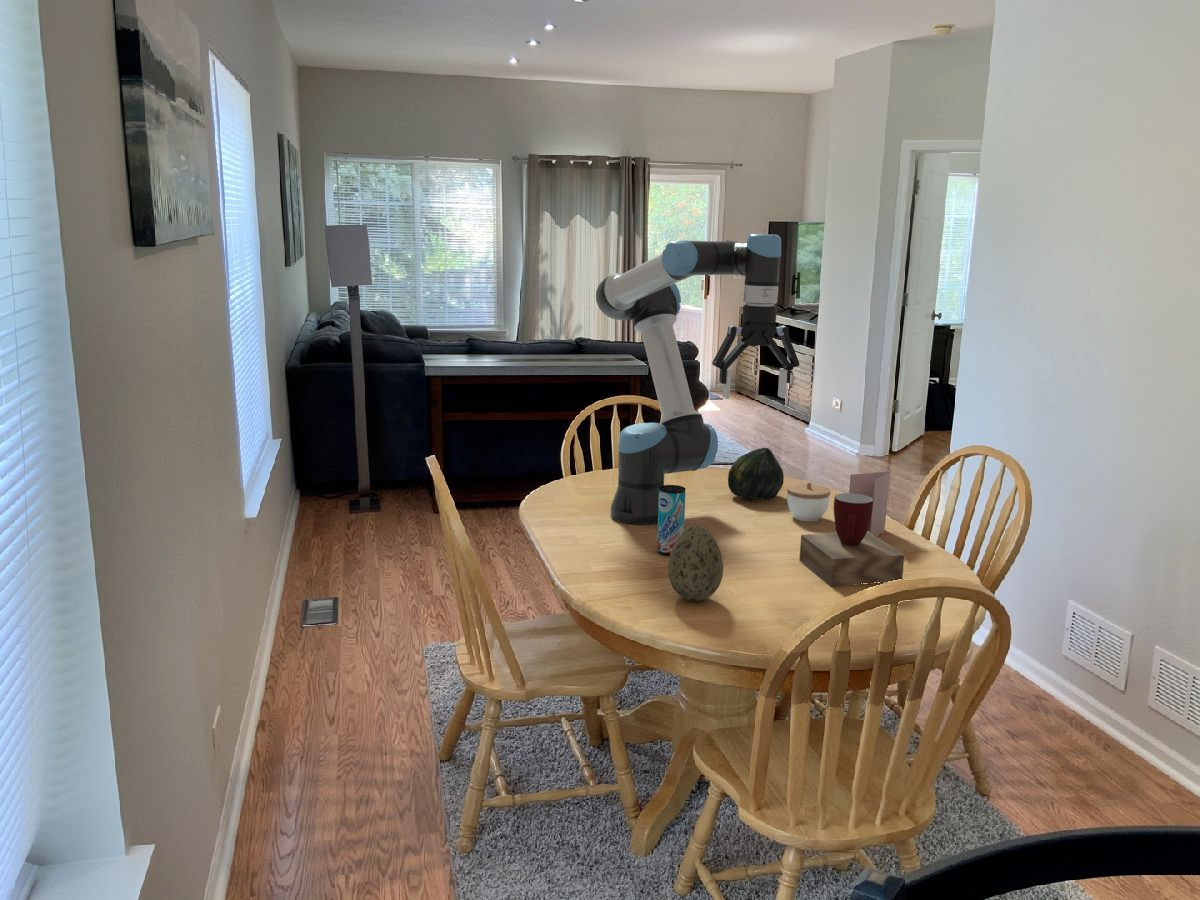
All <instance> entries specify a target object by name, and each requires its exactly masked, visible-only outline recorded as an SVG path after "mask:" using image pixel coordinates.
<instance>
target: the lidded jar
mask: <svg viewBox="0 0 1200 900" xmlns="http://www.w3.org/2000/svg"><path fill="white" fill-rule="evenodd" d="M786 491H787V494H786V495H787V496H786V500H787V507H788V510H789V512H790V513H791V515H793V517H794V518H795V519H796V521H797V520H798V521H802V522H807V523H808V522H811V523H813V522H817V521H819V520H820V518H822V517H823V515H825V513H826V512H827V510H828V507H829V502H830V496H831V489H829V488H828V487H826V486H822V485H819V484H814V483H813V484H812V482H808V481H807V483H796V484H795V483H793V484H791V485H789V486H787V489H786Z"/></svg>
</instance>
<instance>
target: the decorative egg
mask: <svg viewBox="0 0 1200 900" xmlns="http://www.w3.org/2000/svg"><path fill="white" fill-rule="evenodd" d="M668 556H669V558H668V563H667V575H668V580H669V582H670V585H671V588H672V589H673V590H674V591H675V592H676V594H677V595H679V596H680V597H681V598H683V599H684V600H686V601H687V600H688V601H691V602H700V601H704V600H706V599H708V598H710V597H711V596H713V595H714V594H715V592H717V590H718V588H719V587H720V585H721V583H722V580H723V575H724V560H723V556H722V552H721V550H720V547H719V544H718V543H717V541H716V539H715V538H714V536H713V534H712V533H711V532H710V531H709V530H707V529H706V528H705V527H703V526H700V525H693V526H689V528H687V529H686V530H684V532H683V533H682V534H681V535H680V536H679V538H678V539H677V541H676V542H675V544H674V546H673V548H672V550H671V553H670V555H668Z"/></svg>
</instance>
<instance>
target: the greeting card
mask: <svg viewBox="0 0 1200 900" xmlns="http://www.w3.org/2000/svg"><path fill="white" fill-rule="evenodd" d="M890 474H891V471H878V472H868V473H855V474H850V477H849V491H848V493H855V494H862V495H866V496H869V497H871V498H872V499H873V510H872V515H871V519H870V523H869V526H868V530H867V531H870V533H871V534H873V535H874V536H877V535H878V536H879V535H881V532H882V531H883V530H884V529H885V530H886V519H887V517H886V516H887V508H888V507H887V506H888V496H889V484H890ZM885 530H884V531H885ZM884 531H883V532H884ZM883 532H882V533H883ZM878 536H877V537H878Z"/></svg>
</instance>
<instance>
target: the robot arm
mask: <svg viewBox="0 0 1200 900" xmlns="http://www.w3.org/2000/svg"><path fill="white" fill-rule="evenodd" d="M781 259H782V238H781V236H780V235H779V234H772V233H771V234H767V233H766V234H765V233H750V234H749V235H748V236H747V241H735V240H724V241H719V240H718V241H717V240H716V241H715V240H714V241H710V240H709V241H704V240H686V239H681V240H675V241H673V240H672V241H670V242H668V243H666V245H665V247H664V248H663V250H662V253H661V254H659V255H657V256H654V257H653V258H651V259H649V260H647V261H645V262H643V263H641V264H639V265H637V266H635V267H633V268H631V269H629V270H627V271H626V272H615V273H612V274H610V275H609V276H606V277H605V278H603V280H601V282H600V283H599V284H598V286H597V289H596V291H595V301H596V304H597V307H598V308H599V310H600V311H601V312H602V313H603V314H604V315H605V316H606V317H609V318H610V319H613V320H615V321H616V320H618V321H632V324H633V328H634V331H635V332H637V333H639V334H640V335H641V336H642V341H643V345H644V349H645V352H646V353H645V354H646V357H647V361H648V366H649V368H650V373H651V377H652V382H653V385H654V389H655V392H656V397H657V401H658V406H659V408H660V409H659V410H660V413H661V417H662V418H661V421H660V422H659V423H658V422H640V423H635V424H631V425H629V426H625V428H623V429H622V430H621V432H620V434H619V440H618V446H617V449H618V475H617V477H618V479H617V480H618V482H617V488H616V491H615V493H614V495H613V496H614V497H613V499H612V501H611V502H612V503H611V506H610V517H611V516H612V517H613V518H614V520H615V519H616V520H615V521H618V520H619V521H618V522H620V523H625V522H626V524H630V525H631V524H632V523H634V524H633V525H652V524H653V525H654V524H658V504H659V487H661V486H664V485H665V475H666V474H674V473H675V474H676V473H681V472H689V471H690V472H695V471H698V470H702V469H706V468H708V467H709V466H711V465H712V464H713V462H714V461H715V459H716V455H717V453H718V449H719V442H718V441H719V439H718V434H717V432H716V430H715V428H714V427H713V426H712V425H711V424H709V423H705V422H704V418H703V414H702V413H700V412H698V411H696V410H695V407H694V403H693V400H692V395H691V392H690V387H689V384H688V379H687V375H686V372H685V368H684V364H683V360H682V356H681V353H680V348H679V344H678V341H677V337H676V333H675V329H674V325H675V323H676V322H677V320H678V318H677V316H678V315H679V313H680V310H681V307H682V306H681V305H680V304H681V303H682V298H681V297H682V296H681V291H680V290H679V287H678V286H677V283H679V282H681V281H683V280H686V279H688V278H690V277H691V278H692V277H693V276H728V275H729V276H743V277H744V291H743V302H744V303H745V304H744V305H743V306H742V317H741V318H742V319H741V321H742V323H741V326H734V325H728V327H727V332H726V336H725V337H724V339H723V340H722V343H721V345H720V347H719V349H718V351H717V352H716V355H715V357H714V358H713V360H712V362H711V364H712V366H714V367H716V368H719V378H718V379H719V380H718V382H719V383H720V384H722V395H721V396H722V398H724V399H726V400H730V393H731V378H732V377H731V376H732V370H730V369H729V368H730V367H731V365H733V363H734V362H735V361H736V360H737V358H739V357H740V355H741V354H742V353H743V352H744V351H745V349H748V347H749V346H751V347H758V346H760V347H766V346H767V347H768V348H769V350H771V352H772V353H773V354H774V357H776V358H777V360H778V362H779V363H780V364H781V366H782V367H780V368H779V372H778V373H779V375H778V385H777V386H778V389H777V396H778V397H779V398H781V399H786V393H787V384H790V382H791V374H792V371H793V369H794V368H798V367H799V366H800V361H799V358H798V356H797V353H796V351H795V348H794V346H793V343H792V341H791V340H792V339H791V337H790V330H789V326H786V325H783V324H782V325H780V326H776V321H777V310H778V307H777V306H776V304H777V303H778V299H779V298H778V295H779V282H780V269H781ZM739 334H741V336H742V337H741V338H740V340H738V342H737V344H736V345H735V347H733V349H732V350H731V351H730V348H731V347H732V345H733V343H734V341H735V339H736V337H737V336H738V335H739ZM776 334H777V335H778V336H779V337H780V341H781V343H782V346H783V347H784V351H785V353H786V355H787V357H786V355H785V354H784V352H783V351H782V350H781V349H780V347H779V346H778V344H777V342H776V341H775V339H774V337H775V336H776ZM729 351H730V352H729ZM728 352H729V353H728ZM727 354H728V355H727ZM787 358H788V359H787ZM612 517H611V518H612ZM613 518H612V519H613Z"/></svg>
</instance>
